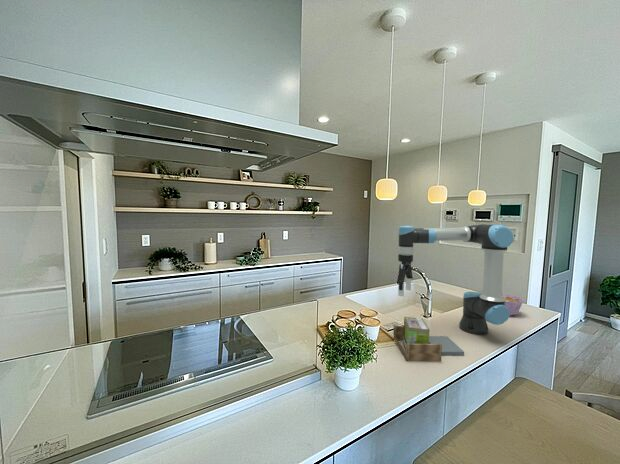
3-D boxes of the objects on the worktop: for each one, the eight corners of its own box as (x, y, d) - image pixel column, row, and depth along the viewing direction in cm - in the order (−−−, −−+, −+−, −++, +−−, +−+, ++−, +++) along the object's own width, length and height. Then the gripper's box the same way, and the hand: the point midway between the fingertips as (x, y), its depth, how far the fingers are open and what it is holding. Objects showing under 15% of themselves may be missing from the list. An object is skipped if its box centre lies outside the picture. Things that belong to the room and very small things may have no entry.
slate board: (446, 339, 146) (446, 336, 146) (464, 355, 129) (464, 351, 129) (423, 339, 146) (423, 335, 146) (437, 355, 129) (437, 351, 129)
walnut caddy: (422, 339, 145) (423, 325, 145) (441, 361, 124) (442, 344, 123) (393, 339, 146) (393, 325, 145) (406, 361, 124) (407, 344, 124)
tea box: (429, 358, 126) (430, 329, 125) (407, 356, 128) (408, 327, 127) (422, 343, 141) (423, 317, 140) (403, 342, 143) (403, 315, 142)
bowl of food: (480, 310, 191) (481, 294, 191) (500, 307, 197) (501, 292, 197) (508, 320, 172) (509, 303, 172) (529, 317, 178) (530, 300, 178)
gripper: (405, 251, 153) (404, 286, 154) (391, 256, 132) (390, 297, 134) (418, 252, 148) (417, 288, 149) (406, 257, 128) (405, 299, 129)
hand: (404, 292), depth 142 cm, fingers open, 13 cm apart
